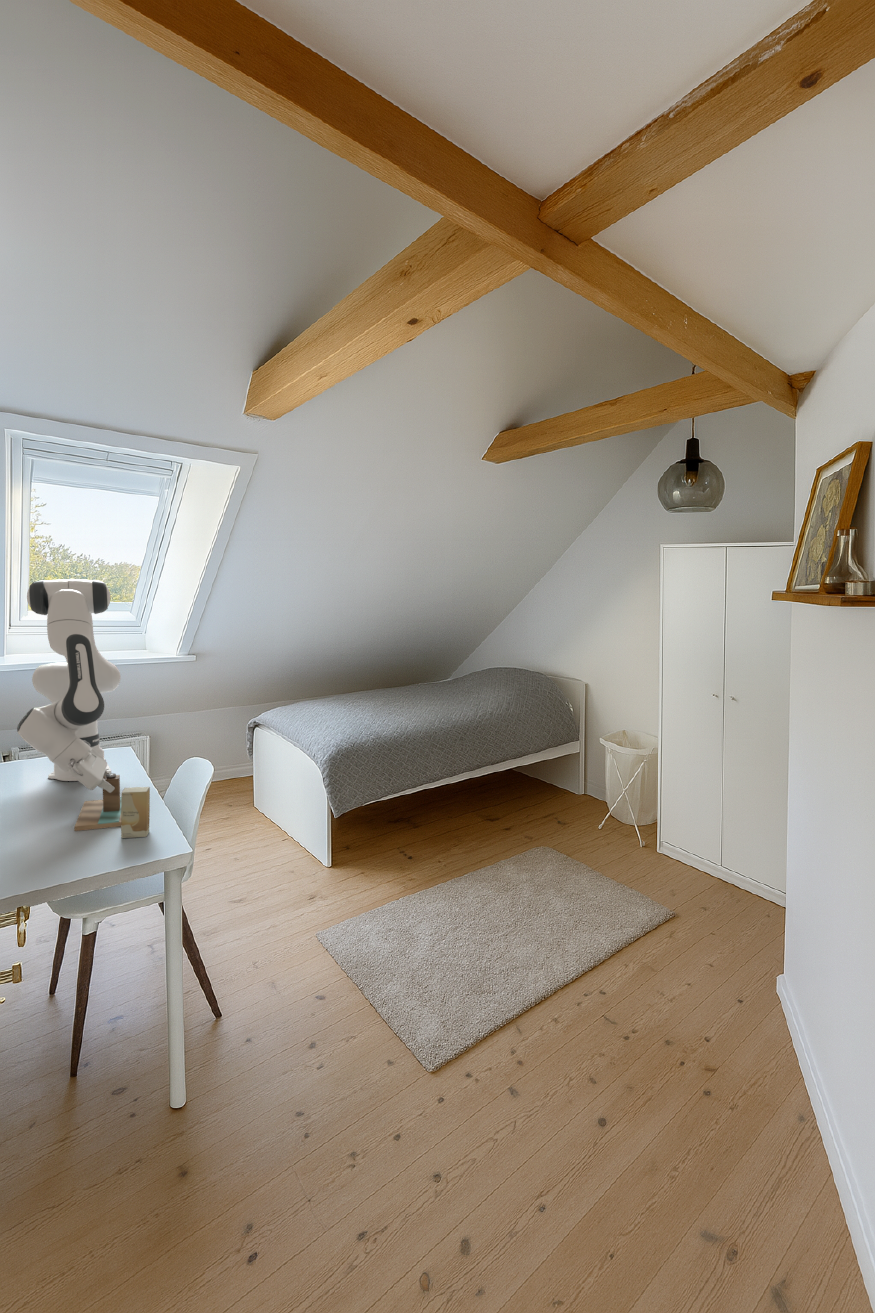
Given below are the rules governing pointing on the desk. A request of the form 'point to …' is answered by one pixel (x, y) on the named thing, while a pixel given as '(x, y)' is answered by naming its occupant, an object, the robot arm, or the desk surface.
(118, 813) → the tan flat board
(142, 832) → the skincare box
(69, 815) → the desk surface
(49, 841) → the desk surface
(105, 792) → the walnut post
